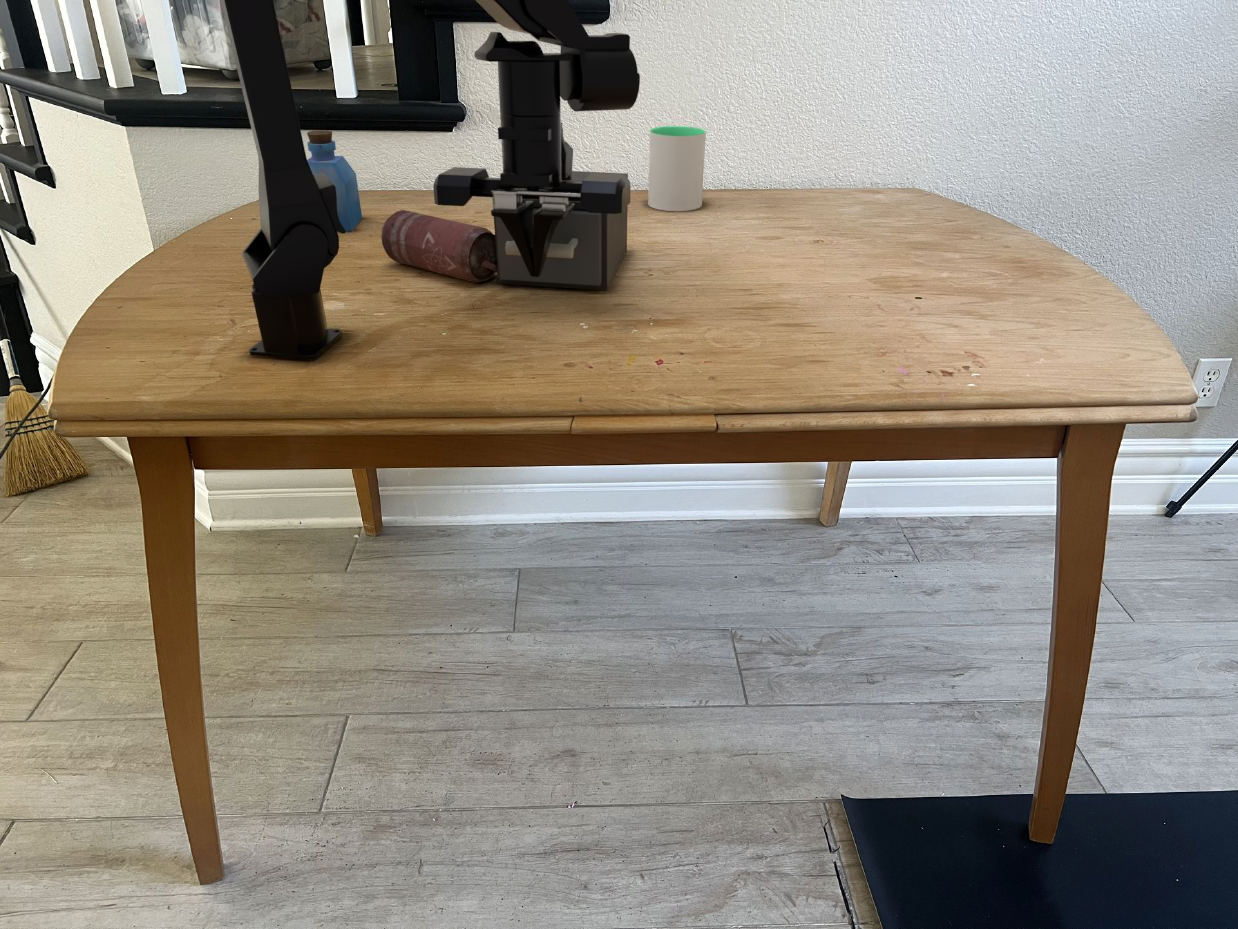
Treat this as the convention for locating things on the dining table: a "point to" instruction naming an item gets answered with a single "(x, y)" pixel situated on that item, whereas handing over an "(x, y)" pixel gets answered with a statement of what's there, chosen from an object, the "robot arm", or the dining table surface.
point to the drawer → (559, 252)
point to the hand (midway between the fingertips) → (535, 275)
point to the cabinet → (611, 244)
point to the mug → (676, 168)
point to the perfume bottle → (336, 176)
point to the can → (440, 245)
